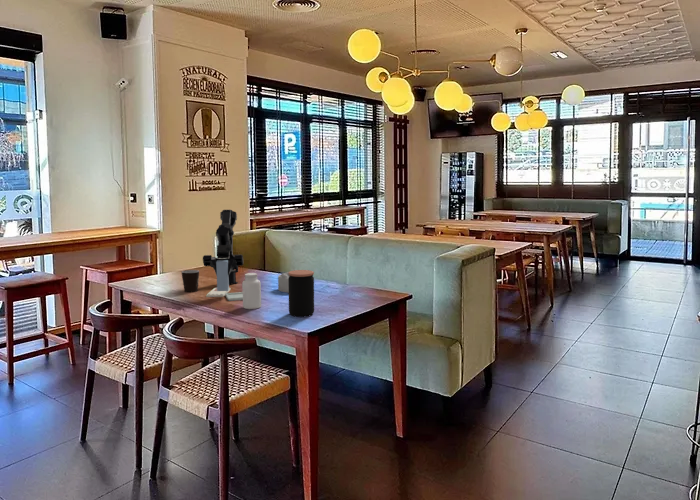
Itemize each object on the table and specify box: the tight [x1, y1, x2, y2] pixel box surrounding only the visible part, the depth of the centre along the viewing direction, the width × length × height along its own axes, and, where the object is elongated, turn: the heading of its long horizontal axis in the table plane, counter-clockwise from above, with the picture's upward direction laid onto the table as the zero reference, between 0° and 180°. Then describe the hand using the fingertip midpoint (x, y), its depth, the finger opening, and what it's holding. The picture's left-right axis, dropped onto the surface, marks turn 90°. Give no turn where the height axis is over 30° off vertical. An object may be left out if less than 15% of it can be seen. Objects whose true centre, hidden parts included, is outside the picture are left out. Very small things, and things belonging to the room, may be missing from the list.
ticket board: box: [205, 287, 231, 298], centre depth 274 cm, size 16×8×1 cm, turn 0°
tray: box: [224, 291, 243, 302], centre depth 265 cm, size 12×12×1 cm
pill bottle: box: [241, 272, 262, 310], centre depth 245 cm, size 8×8×15 cm
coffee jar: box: [287, 269, 315, 318], centre depth 234 cm, size 11×11×18 cm
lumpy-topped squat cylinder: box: [277, 271, 290, 294], centre depth 282 cm, size 10×13×9 cm
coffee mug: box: [181, 269, 200, 293], centre depth 280 cm, size 12×9×10 cm
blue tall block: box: [216, 260, 230, 291], centre depth 264 cm, size 5×5×14 cm
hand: (222, 274), depth 262 cm, fingers closed on blue tall block, 5 cm apart
